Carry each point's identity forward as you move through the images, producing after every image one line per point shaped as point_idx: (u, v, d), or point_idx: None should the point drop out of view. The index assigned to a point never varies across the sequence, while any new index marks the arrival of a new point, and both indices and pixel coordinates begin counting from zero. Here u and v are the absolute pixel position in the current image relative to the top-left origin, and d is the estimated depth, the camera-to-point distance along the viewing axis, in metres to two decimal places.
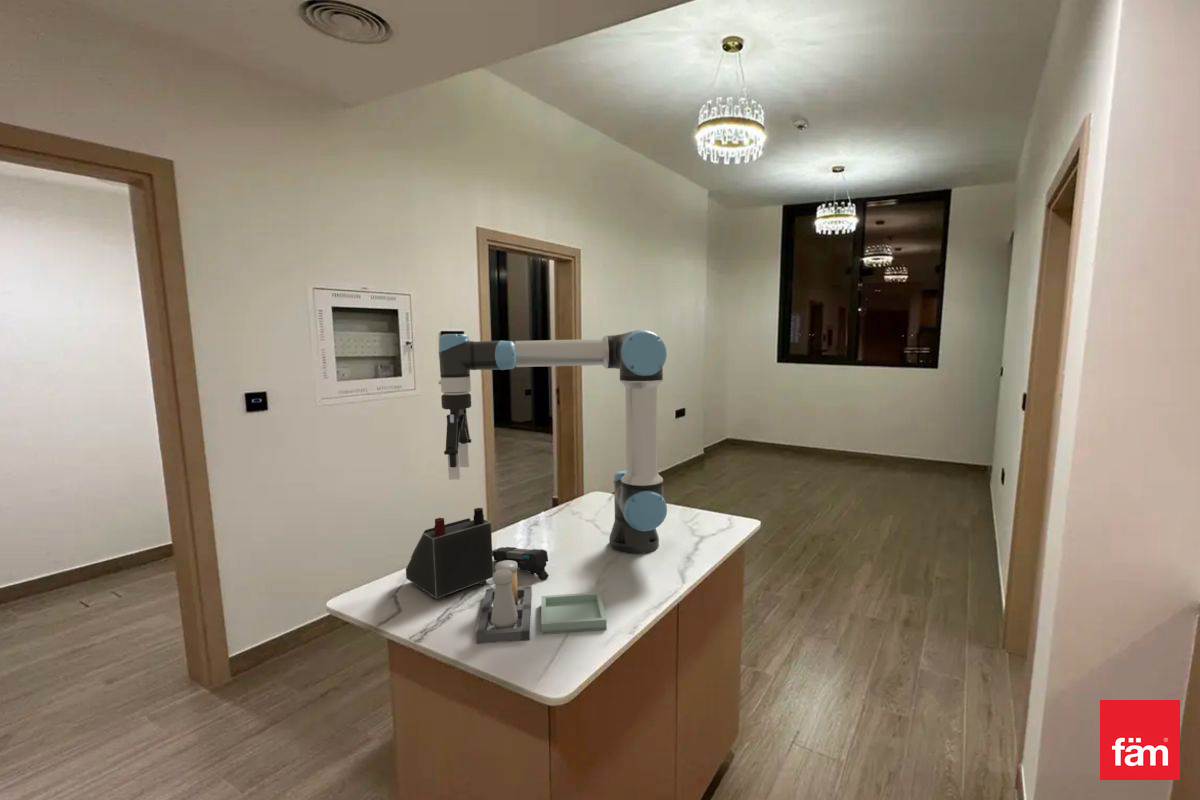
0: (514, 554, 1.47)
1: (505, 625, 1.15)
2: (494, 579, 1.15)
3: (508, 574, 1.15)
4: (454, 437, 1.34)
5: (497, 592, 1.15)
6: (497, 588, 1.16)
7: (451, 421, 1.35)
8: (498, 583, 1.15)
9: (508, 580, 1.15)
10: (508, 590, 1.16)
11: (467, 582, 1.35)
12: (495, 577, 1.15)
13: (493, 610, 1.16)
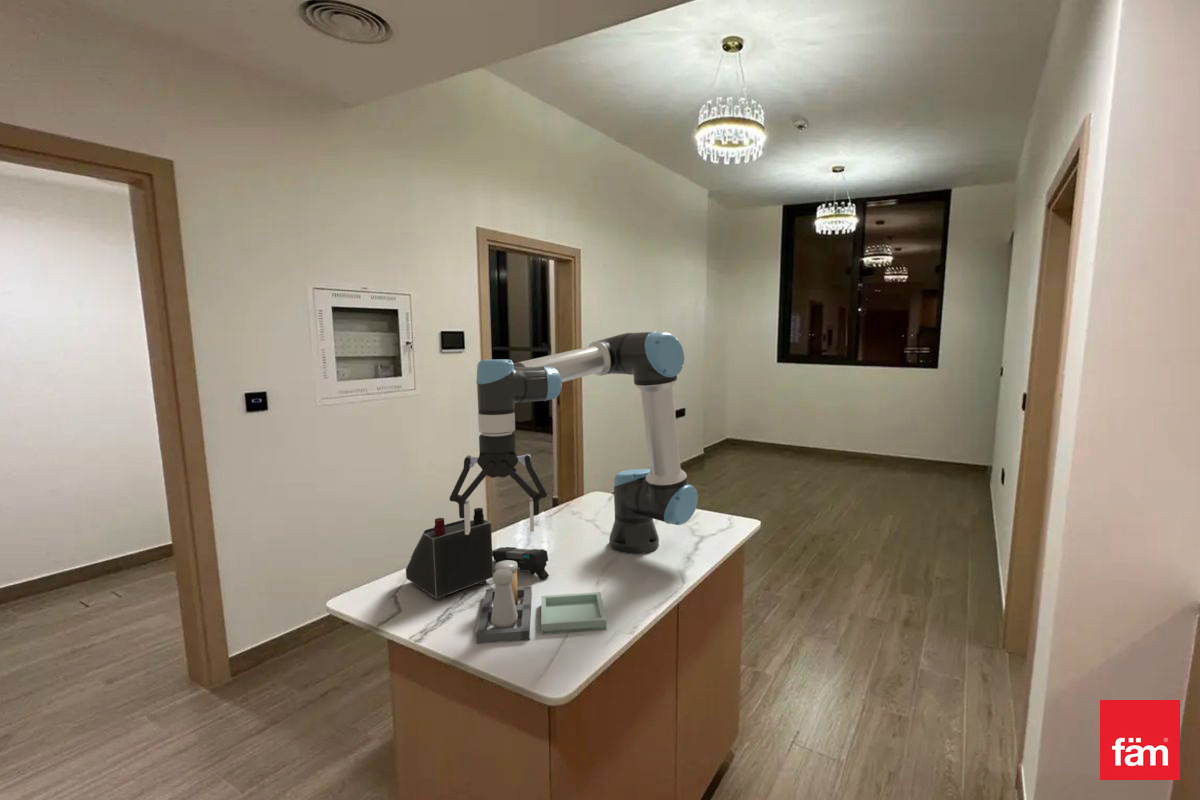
0: (514, 554, 1.47)
1: (505, 625, 1.15)
2: (494, 579, 1.15)
3: (508, 574, 1.15)
4: (456, 483, 1.13)
5: (497, 592, 1.15)
6: (497, 588, 1.16)
7: None
8: (498, 583, 1.15)
9: (508, 580, 1.15)
10: (508, 590, 1.16)
11: (467, 582, 1.35)
12: (495, 577, 1.15)
13: (493, 610, 1.16)
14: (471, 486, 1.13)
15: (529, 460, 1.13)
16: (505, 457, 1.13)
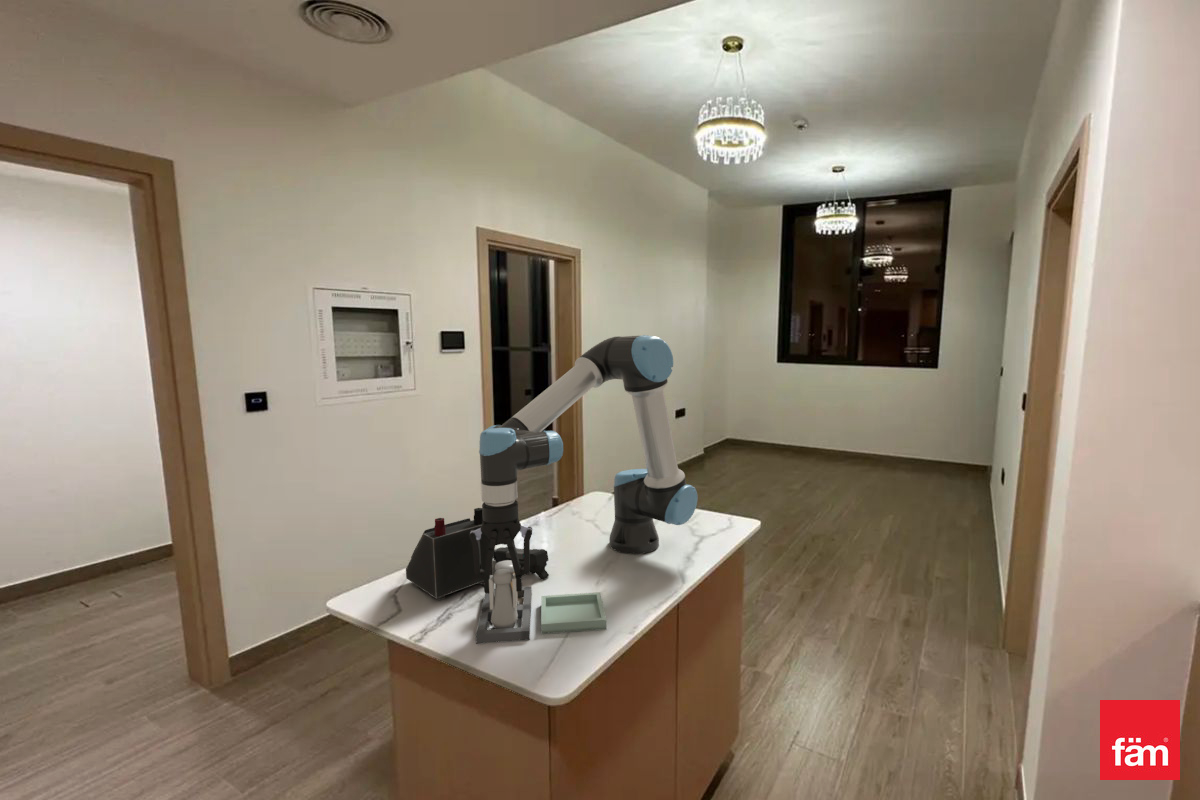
0: None
1: (505, 625, 1.15)
2: (494, 579, 1.15)
3: (508, 574, 1.15)
4: None
5: (497, 592, 1.15)
6: (497, 588, 1.16)
7: None
8: (498, 583, 1.15)
9: (508, 580, 1.15)
10: (508, 590, 1.16)
11: (467, 582, 1.35)
12: (495, 577, 1.15)
13: (493, 610, 1.16)
14: (487, 560, 1.15)
15: (530, 535, 1.15)
16: (510, 522, 1.14)
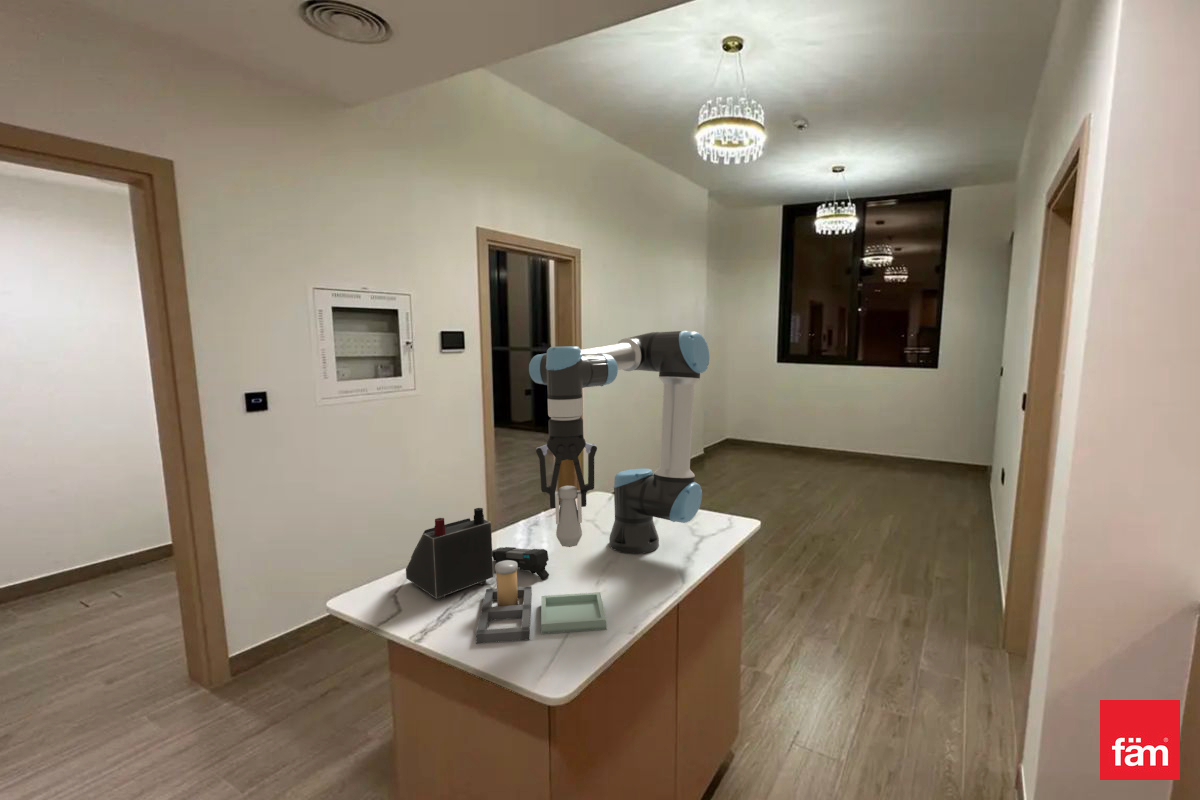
0: (514, 554, 1.47)
1: (571, 538, 1.18)
2: (560, 494, 1.18)
3: (574, 489, 1.18)
4: (540, 475, 1.17)
5: (563, 507, 1.18)
6: (563, 503, 1.18)
7: None
8: (564, 498, 1.17)
9: (574, 495, 1.18)
10: (573, 505, 1.18)
11: (467, 582, 1.35)
12: (561, 492, 1.18)
13: (559, 525, 1.19)
14: (554, 475, 1.17)
15: (595, 451, 1.18)
16: (576, 438, 1.17)
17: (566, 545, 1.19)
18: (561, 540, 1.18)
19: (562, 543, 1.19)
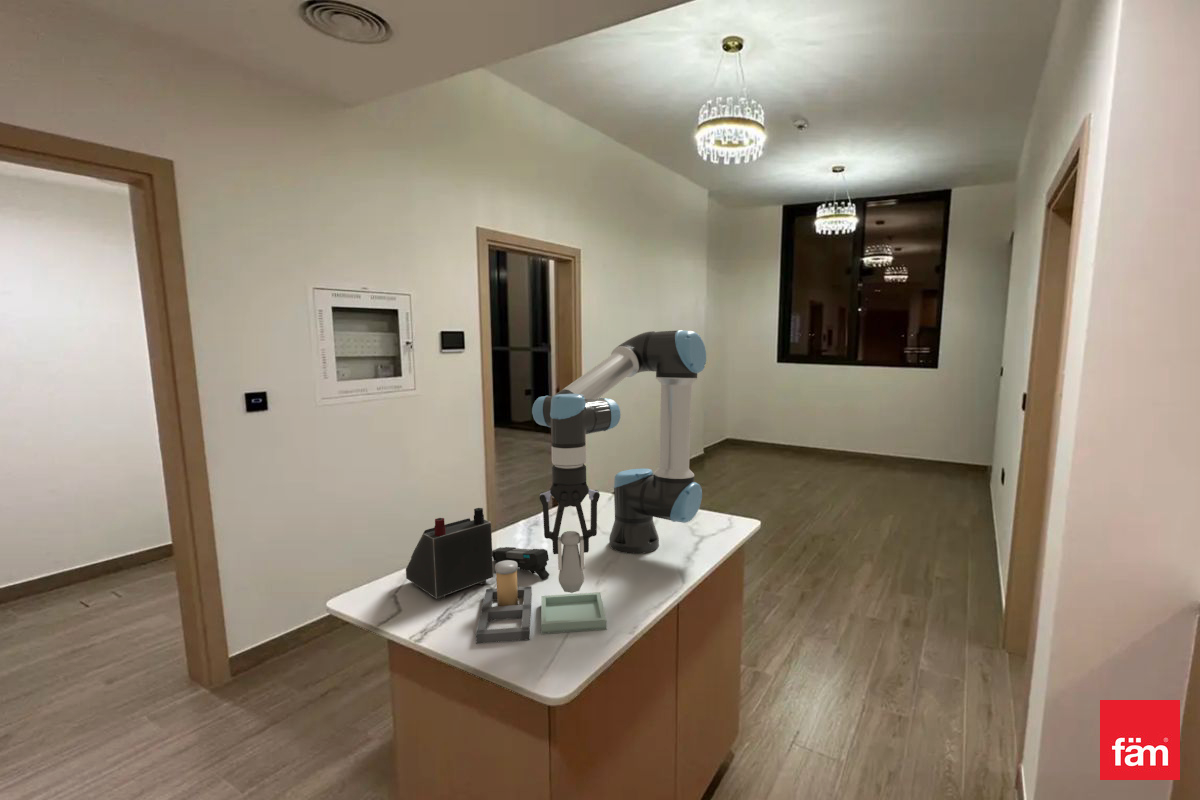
0: (514, 554, 1.47)
1: (574, 584, 1.19)
2: (563, 540, 1.19)
3: (577, 535, 1.19)
4: None
5: (565, 553, 1.19)
6: (565, 549, 1.19)
7: None
8: (567, 544, 1.18)
9: (576, 541, 1.19)
10: (576, 551, 1.19)
11: (467, 582, 1.35)
12: (564, 538, 1.19)
13: (561, 570, 1.20)
14: (557, 521, 1.18)
15: (597, 498, 1.19)
16: (579, 485, 1.18)
17: (568, 591, 1.19)
18: (563, 586, 1.19)
19: (564, 589, 1.20)
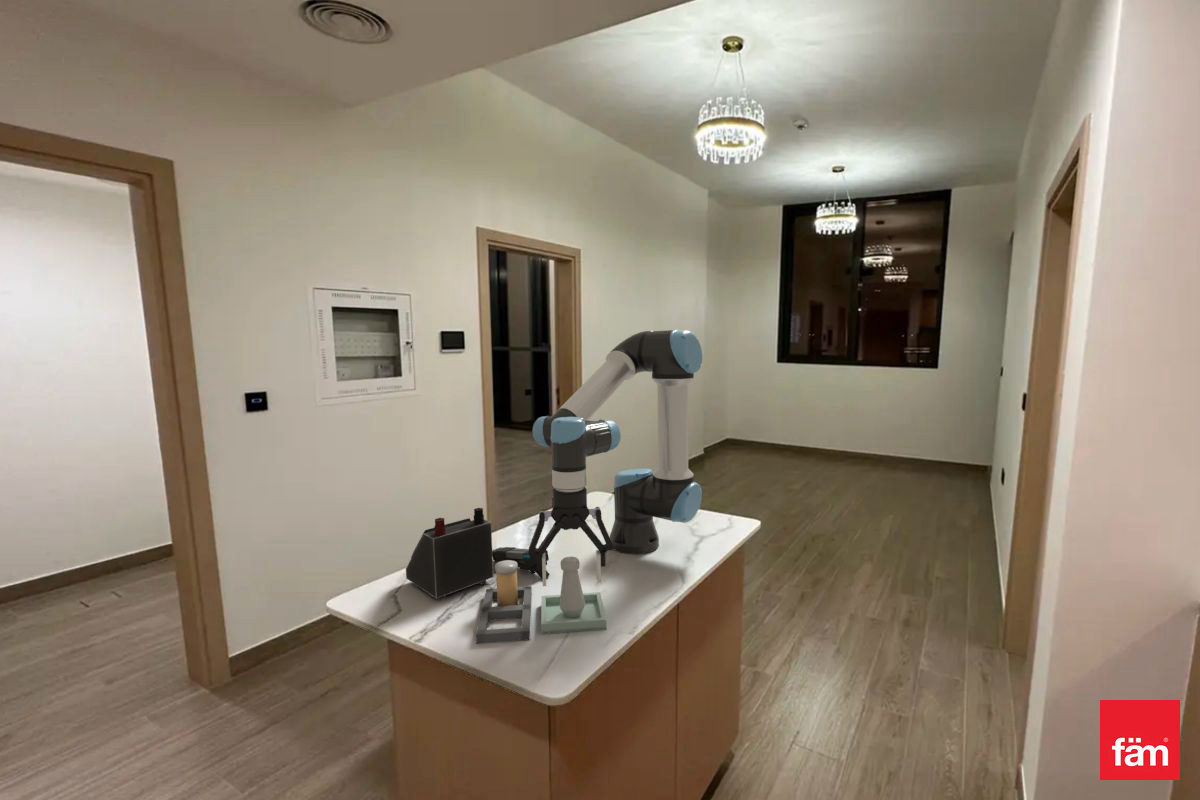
0: (514, 554, 1.47)
1: (575, 610, 1.19)
2: (562, 566, 1.20)
3: (576, 561, 1.20)
4: (533, 537, 1.19)
5: (565, 579, 1.20)
6: (565, 575, 1.20)
7: None
8: (566, 570, 1.19)
9: (576, 567, 1.19)
10: (576, 577, 1.20)
11: (467, 582, 1.35)
12: (563, 564, 1.19)
13: (562, 596, 1.20)
14: (547, 540, 1.19)
15: (600, 514, 1.19)
16: (578, 510, 1.19)
17: (569, 616, 1.20)
18: (564, 612, 1.20)
19: (565, 614, 1.20)
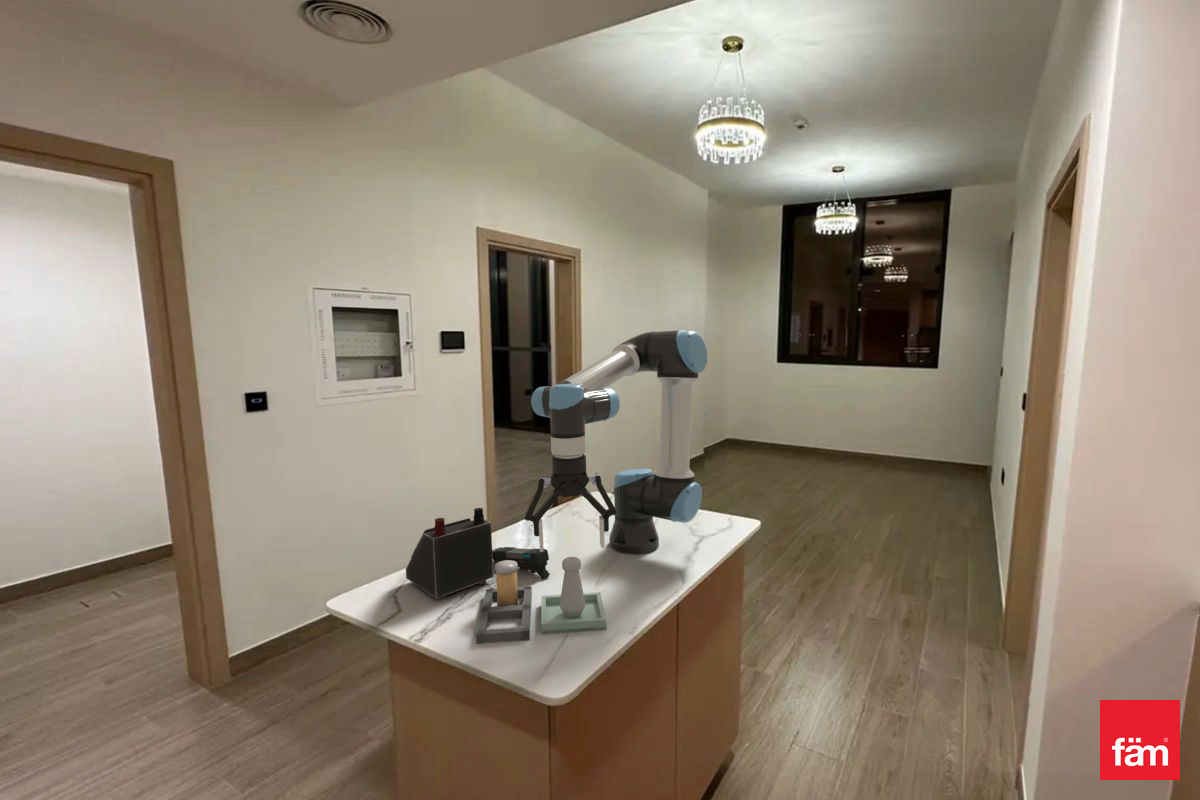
0: (514, 554, 1.47)
1: (575, 610, 1.19)
2: (564, 566, 1.20)
3: (578, 561, 1.20)
4: (531, 503, 1.18)
5: (567, 579, 1.20)
6: (567, 575, 1.20)
7: None
8: (568, 570, 1.19)
9: (577, 567, 1.20)
10: (577, 577, 1.20)
11: (467, 582, 1.35)
12: (565, 564, 1.19)
13: (562, 596, 1.20)
14: (545, 506, 1.18)
15: (600, 480, 1.19)
16: (577, 477, 1.18)
17: (570, 616, 1.20)
18: (565, 612, 1.20)
19: (566, 614, 1.20)
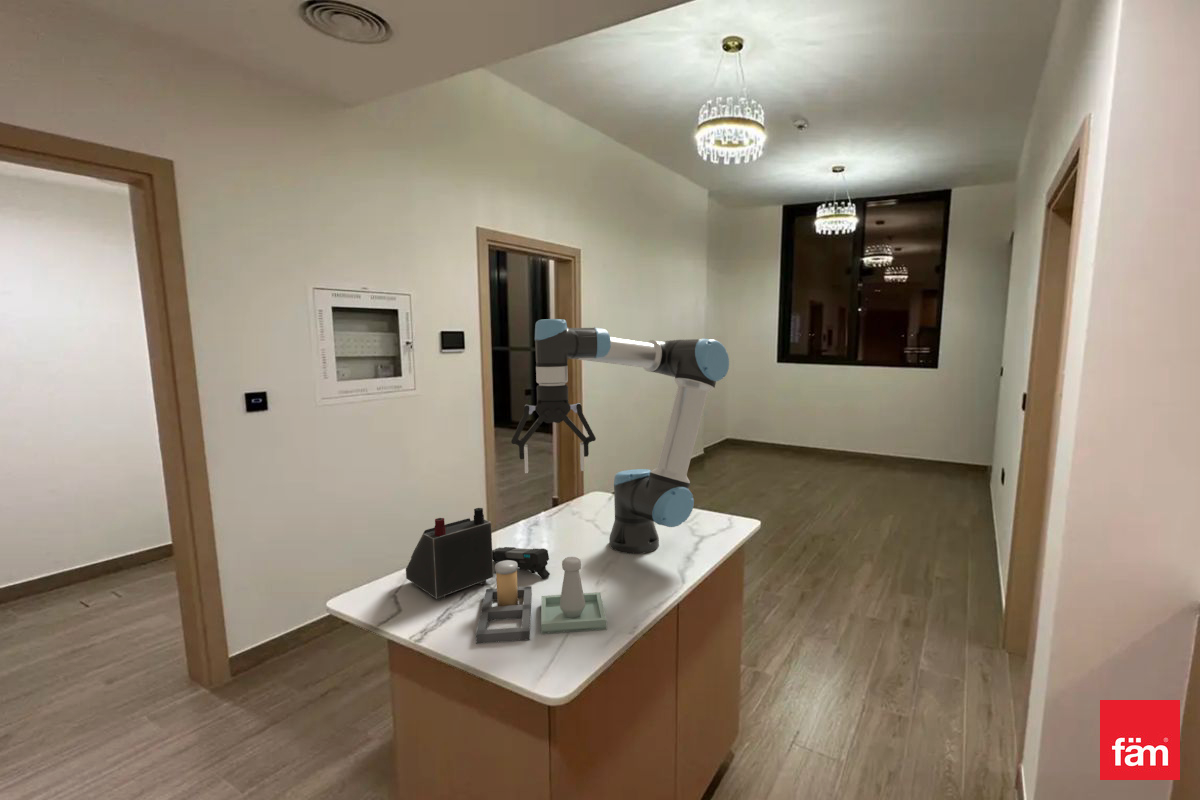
0: (514, 554, 1.47)
1: (575, 610, 1.19)
2: (564, 566, 1.20)
3: (578, 561, 1.20)
4: (517, 428, 1.29)
5: (567, 579, 1.20)
6: (567, 575, 1.20)
7: None
8: (568, 570, 1.19)
9: (577, 567, 1.20)
10: (577, 577, 1.20)
11: (467, 582, 1.35)
12: (565, 564, 1.19)
13: (562, 596, 1.20)
14: (530, 430, 1.29)
15: (580, 408, 1.29)
16: (559, 405, 1.29)
17: (570, 616, 1.20)
18: (565, 612, 1.20)
19: (566, 614, 1.20)
